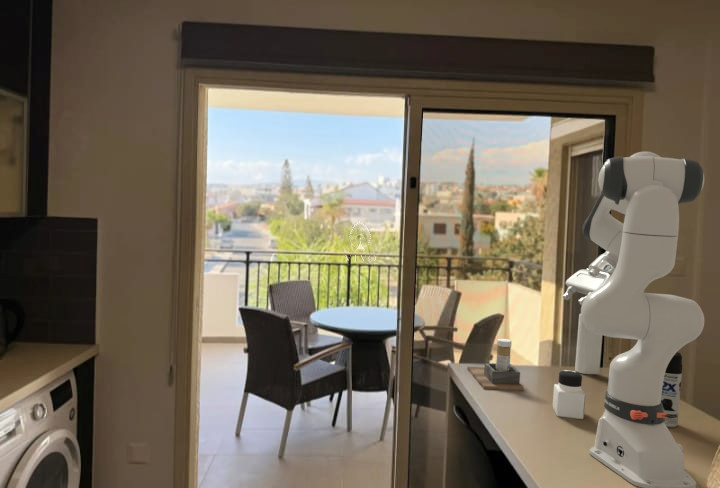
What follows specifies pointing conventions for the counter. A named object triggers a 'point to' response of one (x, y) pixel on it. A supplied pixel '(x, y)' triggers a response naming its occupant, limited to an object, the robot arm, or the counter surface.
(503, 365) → the sprinkles bottle
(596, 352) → the paper towel roll
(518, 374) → the socket block
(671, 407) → the spray can
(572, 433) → the counter surface
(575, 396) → the medicine bottle
